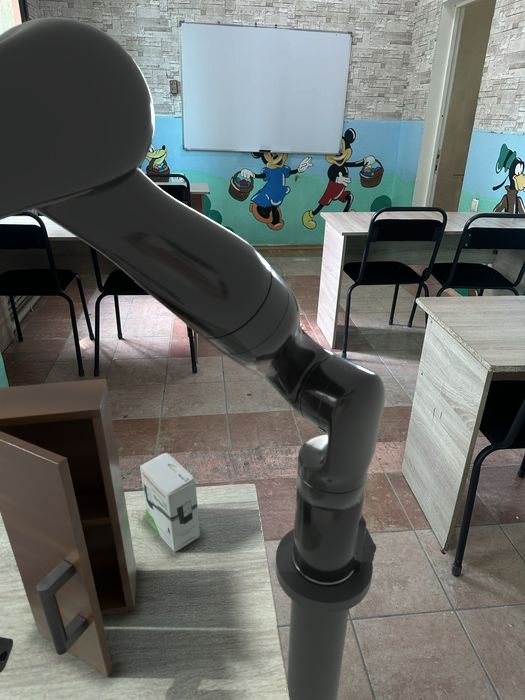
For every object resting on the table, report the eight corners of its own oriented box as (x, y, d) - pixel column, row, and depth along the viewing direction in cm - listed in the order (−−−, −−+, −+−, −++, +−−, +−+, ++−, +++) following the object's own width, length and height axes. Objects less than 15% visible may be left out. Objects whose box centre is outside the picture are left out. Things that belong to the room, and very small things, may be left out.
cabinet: (134, 610, 64) (100, 409, 50) (43, 625, 62) (-20, 420, 48) (136, 569, 70) (106, 378, 55) (53, 582, 68) (-1, 387, 53)
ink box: (145, 521, 78) (137, 463, 73) (171, 506, 81) (165, 449, 76) (174, 554, 72) (168, 494, 67) (201, 537, 75) (197, 478, 70)
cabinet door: (84, 708, 53) (22, 490, 39) (13, 660, 58) (-65, 450, 44) (113, 669, 57) (67, 457, 43) (45, 627, 62) (-18, 423, 48)
